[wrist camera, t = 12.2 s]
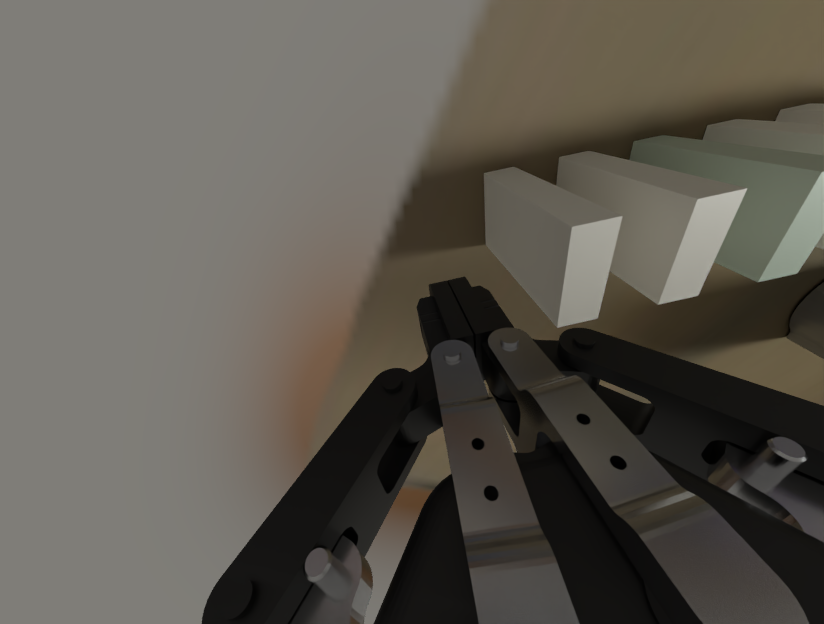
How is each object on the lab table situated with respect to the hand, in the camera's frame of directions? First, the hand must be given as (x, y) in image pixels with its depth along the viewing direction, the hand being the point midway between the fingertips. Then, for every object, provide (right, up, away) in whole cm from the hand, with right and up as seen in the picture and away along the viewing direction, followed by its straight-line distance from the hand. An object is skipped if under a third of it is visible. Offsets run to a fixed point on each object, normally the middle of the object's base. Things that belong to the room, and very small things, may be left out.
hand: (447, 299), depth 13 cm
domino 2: (+9, +8, +8) cm, 15 cm away
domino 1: (+5, +7, +8) cm, 12 cm away
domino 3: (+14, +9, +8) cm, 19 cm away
